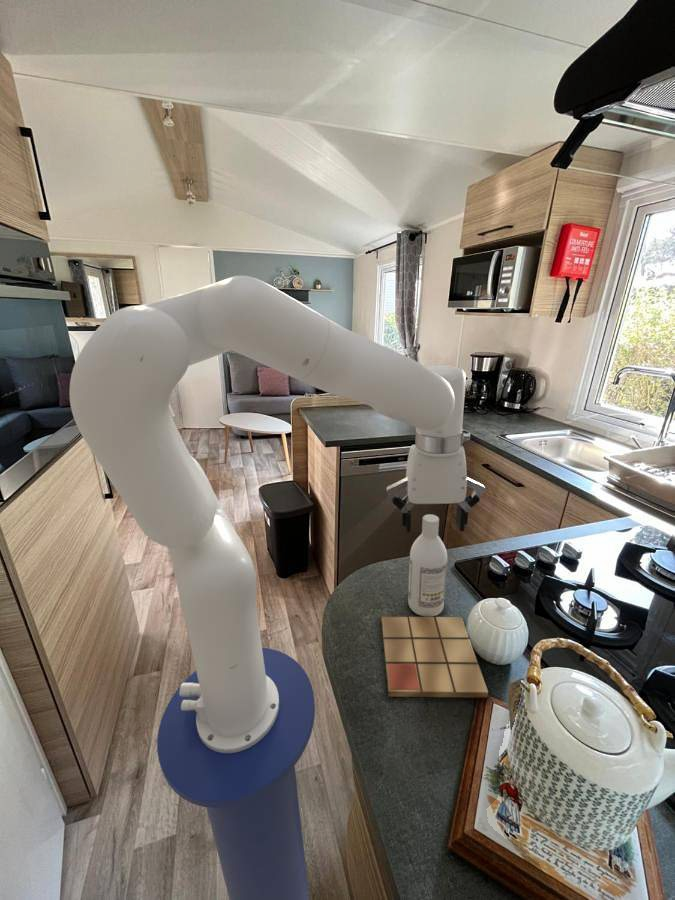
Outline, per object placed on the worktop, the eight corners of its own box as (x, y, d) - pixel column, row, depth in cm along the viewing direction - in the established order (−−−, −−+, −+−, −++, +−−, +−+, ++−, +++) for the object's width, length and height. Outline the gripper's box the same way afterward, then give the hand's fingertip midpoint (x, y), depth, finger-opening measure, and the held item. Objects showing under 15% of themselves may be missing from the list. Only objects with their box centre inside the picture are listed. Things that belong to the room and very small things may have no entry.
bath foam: (450, 608, 75) (458, 519, 68) (426, 624, 71) (432, 532, 65) (424, 588, 81) (429, 505, 74) (400, 603, 77) (403, 516, 70)
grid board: (388, 696, 58) (388, 690, 58) (381, 621, 72) (381, 616, 72) (487, 697, 58) (488, 691, 57) (461, 621, 72) (461, 616, 71)
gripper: (482, 432, 67) (474, 516, 73) (384, 435, 68) (384, 518, 74) (497, 447, 60) (487, 538, 66) (388, 450, 61) (388, 540, 67)
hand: (433, 527), depth 70 cm, fingers open, 9 cm apart
